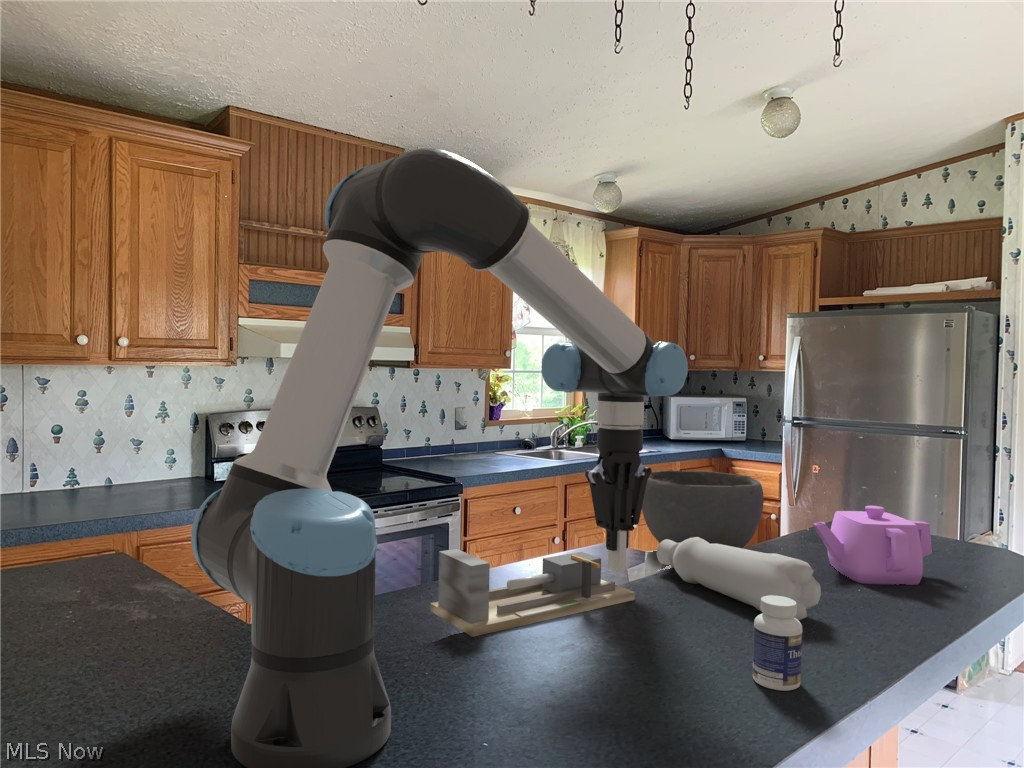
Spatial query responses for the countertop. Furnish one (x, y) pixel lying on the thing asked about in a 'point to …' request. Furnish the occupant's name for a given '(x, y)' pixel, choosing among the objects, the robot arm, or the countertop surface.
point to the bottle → (742, 572)
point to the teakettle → (876, 546)
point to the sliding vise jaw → (561, 573)
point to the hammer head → (586, 579)
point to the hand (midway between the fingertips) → (616, 568)
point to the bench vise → (506, 598)
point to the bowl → (703, 506)
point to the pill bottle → (777, 644)
